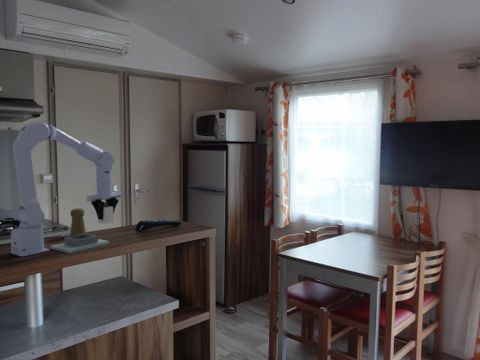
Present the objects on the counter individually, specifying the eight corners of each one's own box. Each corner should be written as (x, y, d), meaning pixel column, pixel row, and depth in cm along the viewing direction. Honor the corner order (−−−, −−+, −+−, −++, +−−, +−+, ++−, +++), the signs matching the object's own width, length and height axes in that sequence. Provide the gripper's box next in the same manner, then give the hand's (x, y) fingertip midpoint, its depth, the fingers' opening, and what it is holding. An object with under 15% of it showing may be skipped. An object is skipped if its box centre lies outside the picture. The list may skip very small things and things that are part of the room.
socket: (69, 253, 136) (68, 242, 135) (50, 248, 142) (50, 238, 141) (108, 243, 149) (108, 234, 148) (90, 239, 155) (90, 230, 155)
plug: (104, 223, 151) (104, 203, 151) (98, 222, 154) (97, 203, 153) (113, 221, 155) (112, 202, 154) (106, 220, 157) (106, 201, 156)
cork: (66, 236, 161) (65, 209, 160) (77, 233, 167) (76, 207, 166) (79, 237, 159) (78, 210, 158) (89, 234, 165) (88, 207, 164)
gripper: (94, 185, 145) (95, 222, 146) (126, 182, 157) (127, 216, 158) (82, 184, 149) (83, 220, 150) (114, 181, 161) (115, 215, 162)
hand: (105, 218), depth 154 cm, fingers closed on plug, 4 cm apart
